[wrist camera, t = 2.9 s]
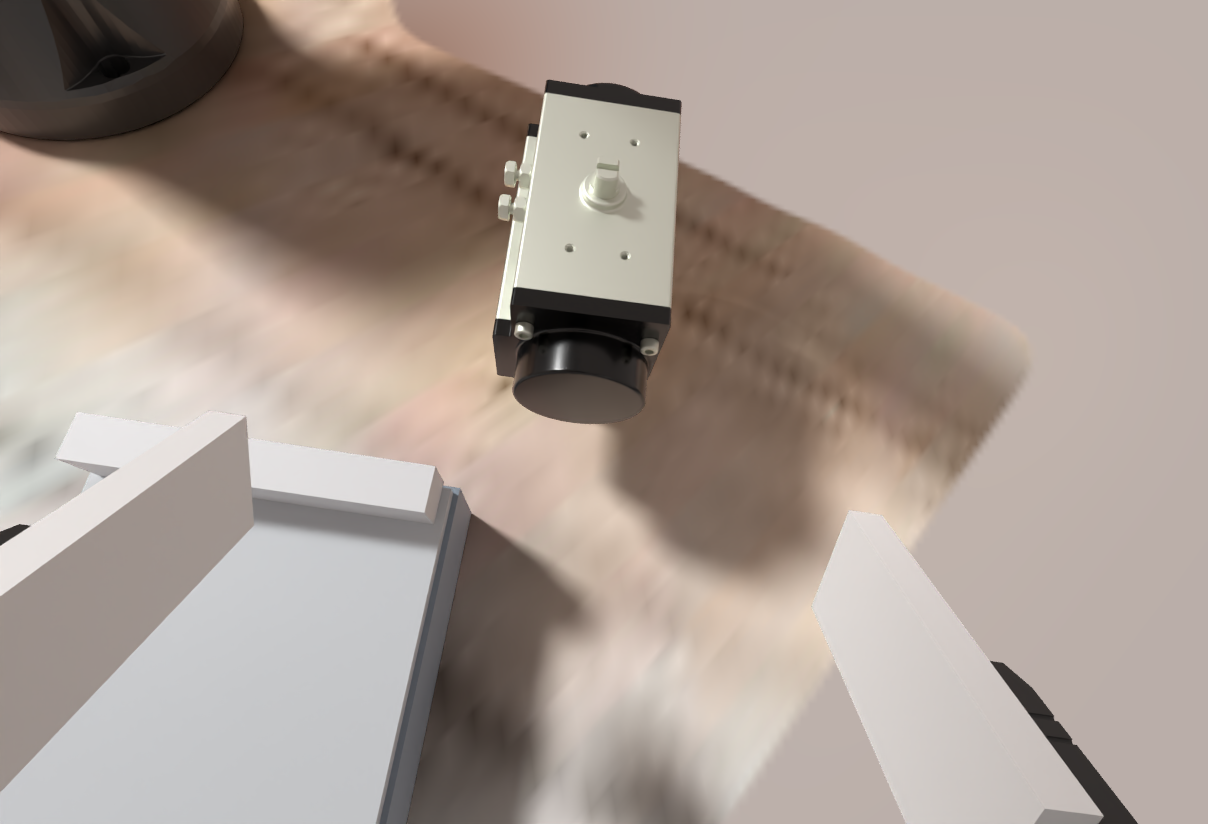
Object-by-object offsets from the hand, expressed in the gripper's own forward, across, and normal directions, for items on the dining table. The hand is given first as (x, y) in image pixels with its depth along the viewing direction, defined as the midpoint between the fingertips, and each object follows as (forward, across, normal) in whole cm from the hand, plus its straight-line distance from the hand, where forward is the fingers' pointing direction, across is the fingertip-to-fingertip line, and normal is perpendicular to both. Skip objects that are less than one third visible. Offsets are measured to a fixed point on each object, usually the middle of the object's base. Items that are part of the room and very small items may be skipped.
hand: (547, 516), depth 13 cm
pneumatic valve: (+17, 0, -2) cm, 17 cm away
